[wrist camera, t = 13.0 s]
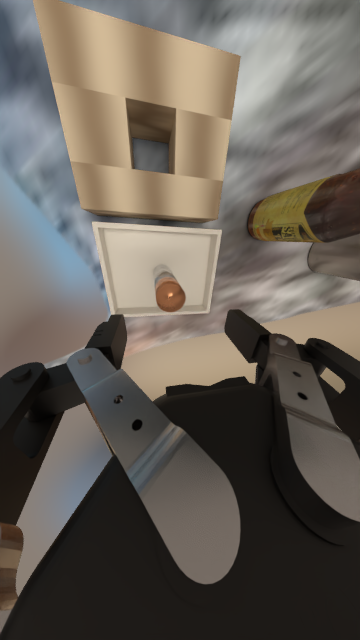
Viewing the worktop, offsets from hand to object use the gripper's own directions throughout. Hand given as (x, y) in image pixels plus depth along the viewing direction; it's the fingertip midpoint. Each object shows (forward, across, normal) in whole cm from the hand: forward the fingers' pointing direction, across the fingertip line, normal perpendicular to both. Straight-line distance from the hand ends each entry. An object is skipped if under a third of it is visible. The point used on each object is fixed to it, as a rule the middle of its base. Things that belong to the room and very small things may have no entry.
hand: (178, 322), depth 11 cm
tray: (+18, 0, 0) cm, 18 cm away
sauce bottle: (+18, -18, -9) cm, 27 cm away
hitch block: (+18, +1, -14) cm, 23 cm away
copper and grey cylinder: (+17, 0, 0) cm, 17 cm away
